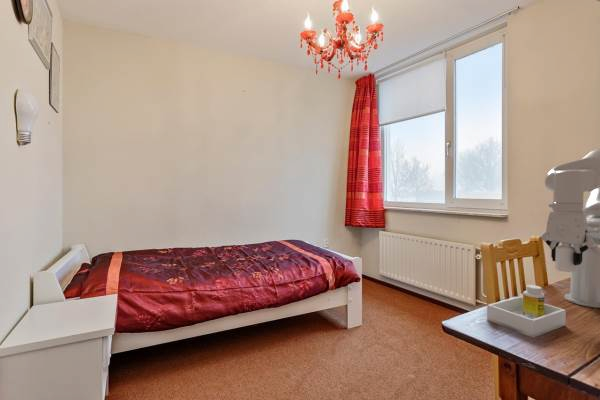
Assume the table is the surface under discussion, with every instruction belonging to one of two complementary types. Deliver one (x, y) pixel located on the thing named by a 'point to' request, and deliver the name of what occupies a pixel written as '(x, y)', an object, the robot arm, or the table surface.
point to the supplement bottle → (533, 302)
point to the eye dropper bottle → (565, 258)
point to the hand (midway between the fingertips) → (566, 262)
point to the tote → (512, 317)
